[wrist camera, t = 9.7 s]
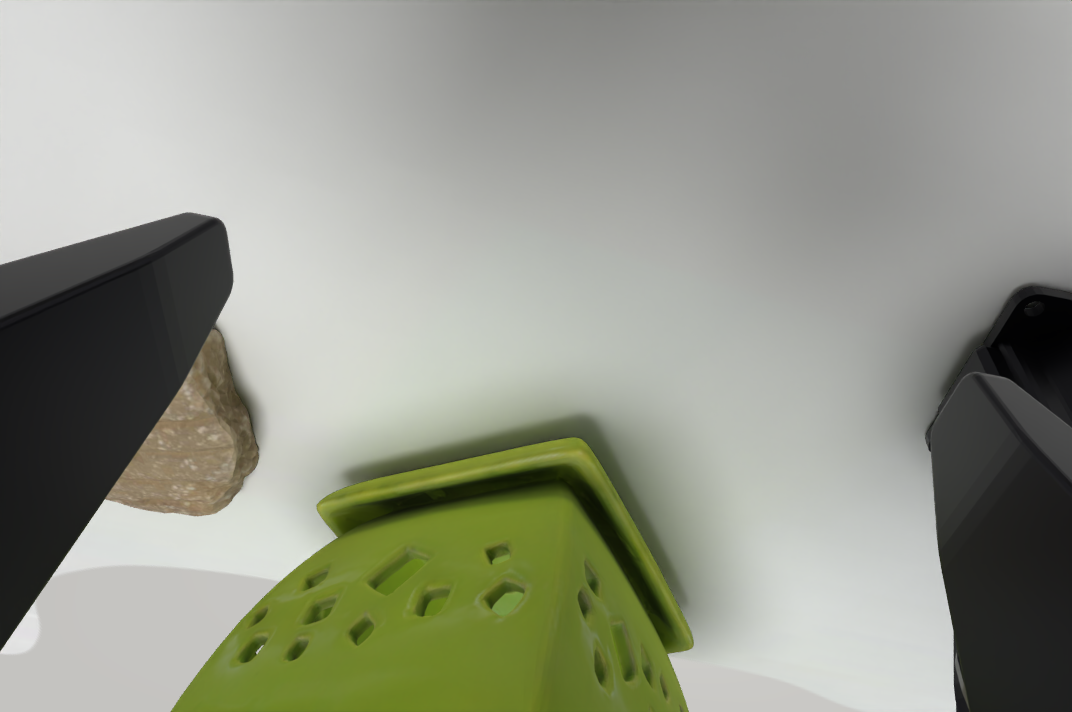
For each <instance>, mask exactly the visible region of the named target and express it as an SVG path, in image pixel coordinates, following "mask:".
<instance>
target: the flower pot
mask: <svg viewBox="0 0 1072 712" xmlns="http://www.w3.org/2000/svg"><path fill="white" fill-rule="evenodd" d="M317 511H318V513H319V514H320V516H321V517H322V519H323V520H324V521H325V523H326V524H327V525H328V526H329V528H330V529H331V530H332V531H333V532H334V533H335V535H336V536H337V537H338V538H337V539H335V540H334V541H332V542H331V543H329V544H328V545H326V546H325V547H323V548H322V549H321V550H319V551H318V552H316V553H315V554H314V555H312V556H311V557H310V558H308V559H307V560H306V561H304V562H303V563H302V564H301V565H299V566H298V567H297V568H296V569H294V570H293V571H292V572H291V573H290V574H288V575H287V576H286V577H285V578H284V579H283V580H282V581H280V582H279V583H278V584H277V585H276V586H275V587H274V588H273V589H272V590H271V591H270V592H269V593H267V594H266V595H265V596H264V598H262V599H261V600H260V601H259V602H258V603H257V604H256V605H255V606H254V608H252V610H251V611H250V612H249V613H248V614H247V615H246V616H245V617H244V618H243V619H242V620H241V621H240V622H239V623H238V624H237V625H236V627H235V628H234V629H233V630H232V631H231V633H230V634H229V635H228V636H227V637H226V639H225V640H224V641H223V642H222V643H221V644H220V646H219V647H218V648H217V649H216V651H215V652H214V653H213V655H212V656H211V657H210V658H209V660H208V661H207V662H206V663H205V665H204V666H203V667H202V668H201V670H200V671H199V673H198V674H197V675H196V677H195V678H194V679H193V681H192V682H191V683H190V685H189V686H188V687H187V689H186V690H185V692H184V693H183V694H182V696H181V697H180V699H179V700H178V702H177V703H176V705H175V706H174V708H173V709H172V711H171V712H689V711H688V708H687V705H686V701H685V699H684V696H683V693H682V690H681V687H680V684H679V682H678V679H677V677H676V674H675V672H674V669H673V667H672V665H671V662H670V660H669V657H668V655H667V654H669V653H675V652H681V651H686V650H689V649H691V648H692V647H693V645H694V641H693V637H692V633H691V631H690V628H689V626H688V624H687V622H686V620H685V618H684V616H683V614H682V612H681V610H680V608H679V606H678V604H677V602H676V600H675V598H674V597H673V595H672V593H671V591H670V589H669V587H668V585H667V583H666V581H665V579H664V577H663V575H662V573H661V571H660V569H659V567H658V565H657V563H656V561H655V560H654V558H653V556H652V554H651V552H650V551H649V549H648V547H647V545H646V543H645V541H644V540H643V538H642V536H641V534H640V532H639V531H638V529H637V527H636V525H635V523H634V522H633V520H632V518H631V516H630V515H629V513H628V511H627V509H626V508H625V506H624V504H623V502H622V500H621V499H620V497H619V495H618V493H617V492H616V490H615V488H614V486H613V485H612V483H611V481H610V479H609V478H608V476H607V474H606V473H605V471H604V469H603V467H602V466H601V464H600V462H599V461H598V459H597V458H596V456H595V455H594V453H593V451H592V450H591V448H590V447H589V446H588V445H587V443H586V442H584V441H583V440H582V439H580V438H575V437H571V438H565V439H559V440H553V441H548V442H543V443H538V444H533V445H528V446H524V447H519V448H514V449H510V450H505V451H501V452H496V453H491V454H487V455H482V456H478V457H473V458H469V459H464V460H460V461H455V462H451V463H446V464H441V465H437V466H432V467H427V468H422V469H418V470H413V471H408V472H404V473H399V474H395V475H390V476H386V477H381V478H377V479H372V480H369V481H365V482H361V483H358V484H355V485H351V486H348V487H345V488H343V489H340V490H338V491H336V492H334V493H332V494H330V495H328V496H326V497H325V498H324V499H322V500H321V501H320V502H319V503H318V504H317ZM262 645H264V646H263V647H262V649H261V650H260V651H259V653H258V654H256V651H257V650H258V649H259V648H260V647H261V646H262Z"/></svg>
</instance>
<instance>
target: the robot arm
mask: <svg viewBox="0 0 1072 712" xmlns="http://www.w3.org/2000/svg"><path fill="white" fill-rule="evenodd" d="M232 286H233V269H232V263H231V256H230V250H229V243H228V236H227V231H226V227H225V225H224V223H223V222H222V221H221V220H220V219H218V218H215V217H211V216H206V215H201V214H196V213H182V214H179V215H175V216H172V217H168V218H165V219H161V220H158V221H154V222H151V223H147V224H143V225H140V226H136V227H133V228H129V229H126V230H122V231H119V232H115V233H112V234H108V235H104V236H101V237H97V238H94V239H90V240H87V241H83V242H80V243H76V244H73V245H69V246H65V247H62V248H58V249H55V250H51V251H48V252H44V253H41V254H37V255H34V256H30V257H26V258H23V259H19V260H16V261H12V262H9V263H5V264H2V265H0V651H1V650H2V648H3V647H4V645H5V644H6V642H7V641H8V639H9V638H10V636H11V635H12V634H13V632H14V631H15V629H16V628H17V626H18V625H19V623H20V622H21V620H22V619H23V618H24V616H25V615H26V613H27V612H28V610H29V609H30V607H31V606H32V604H33V603H34V602H35V600H36V599H37V597H38V596H39V594H40V593H41V591H42V590H43V588H44V587H45V585H46V584H47V583H48V581H49V580H50V578H51V577H52V575H53V574H54V572H55V571H56V569H57V568H58V567H59V565H60V564H61V562H62V561H63V559H64V558H65V556H66V555H67V553H68V552H69V551H70V549H71V548H72V546H73V545H74V543H75V542H76V540H77V539H78V537H79V536H80V535H81V533H82V532H83V530H84V529H85V527H86V526H87V524H88V523H89V521H90V520H91V518H92V517H93V516H94V514H95V513H96V511H97V510H98V508H99V507H100V505H101V504H102V502H103V501H104V500H105V498H106V497H107V495H108V494H109V492H110V491H111V489H112V488H113V486H114V485H115V484H116V482H117V481H118V479H119V478H120V476H121V475H122V473H123V472H124V470H125V469H126V468H127V466H128V465H129V463H130V462H131V460H132V459H133V457H134V456H135V454H136V453H137V451H138V450H139V449H140V447H141V446H142V444H143V443H144V441H145V440H146V438H147V437H148V435H149V434H150V433H151V431H152V430H153V428H154V427H155V425H156V424H157V422H158V421H159V419H160V418H161V417H162V415H163V414H164V412H165V411H166V409H167V408H168V406H169V405H170V403H171V402H172V400H173V399H174V397H175V396H176V394H177V393H178V391H179V390H180V388H181V386H182V385H183V383H184V381H185V379H186V378H187V376H188V374H189V372H190V370H191V368H192V367H193V365H194V363H195V361H196V359H197V357H198V355H199V353H200V351H201V349H202V347H203V346H204V344H205V342H206V340H207V338H208V336H209V334H210V332H211V330H212V328H213V326H214V324H215V323H216V321H217V319H218V317H219V315H220V313H221V311H222V309H223V307H224V305H225V303H226V301H227V300H228V298H229V296H230V293H231V290H232ZM1032 302H1039V304H1038V305H1037V306H1036V307H1033V308H1031V309H1025V307H1026V306H1027V305H1028V304H1029V303H1032ZM938 411H939V415H938V416H937V418H936V420H935V421H934V423H933V424H932V426H931V428H930V429H929V431H928V432H927V434H926V437H925V439H926V443H927V446H928V449H929V451H930V452H931V458H932V472H933V487H934V501H935V516H936V530H937V541H938V550H939V557H940V563H941V569H942V574H943V579H944V584H945V589H946V594H947V600H948V605H949V610H950V615H951V620H952V625H953V630H954V691H955V700H956V712H1072V293H1068V292H1063V291H1058V290H1053V289H1048V288H1043V287H1028V288H1024V289H1022V290H1020V291H1019V292H1017V293H1016V294H1015V295H1014V296H1013V297H1012V299H1011V300H1010V302H1009V303H1008V305H1007V307H1006V308H1005V310H1004V311H1003V313H1002V315H1001V316H1000V318H999V319H998V321H997V323H996V324H995V326H994V327H993V329H992V330H991V332H990V334H989V335H988V337H987V338H986V340H985V342H984V343H983V345H982V346H980V347H979V348H977V349H976V350H974V351H973V353H972V354H971V356H970V358H969V359H968V361H967V362H966V364H965V366H964V367H963V369H962V370H961V372H960V374H959V375H958V377H957V378H956V380H955V382H954V383H953V385H952V386H951V388H950V390H949V391H948V393H947V395H946V396H945V398H944V399H943V401H942V403H941V404H940V406H939V408H938Z"/></svg>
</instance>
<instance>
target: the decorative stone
mask: <svg viewBox="0 0 1072 712" xmlns="http://www.w3.org/2000/svg"><path fill="white" fill-rule="evenodd" d="M257 451H258V447H257V445H256V443H255V436H254V434H253V432H252V427H251V423H250V419H249V414H248V411H247V409H246V407H245V406H244V405H243V403H242V402H241V399H240V397H239V396H238V395H237V394H236V392H235V388H234V384H233V379H232V377H231V372H230V369H229V366H228V361H227V352H226V349H225V341H224V339H223V337H222V334H221V333H220V332H219V331H217V330H215V329H212V330H211V332H210V334H209V336H208V338H207V340H206V342H205V344H204V346H203V347H202V349H201V351H200V353H199V355H198V357H197V359H196V361H195V363H194V365H193V367H192V368H191V370H190V372H189V374H188V376H187V378H186V379H185V381H184V383H183V385H182V386H181V388H180V390H179V391H178V393H177V394H176V396H175V397H174V399H173V400H172V402H171V403H170V405H169V406H168V408H167V409H166V411H165V412H164V414H163V415H162V417H161V418H160V419H159V421H158V422H157V424H156V425H155V427H154V428H153V430H152V431H151V433H150V434H149V435H148V437H147V438H146V440H145V441H144V443H143V444H142V446H141V447H140V449H139V450H138V451H137V453H136V454H135V456H134V457H133V459H132V460H131V462H130V463H129V465H128V466H127V468H126V469H125V470H124V472H123V473H122V475H121V476H120V478H119V479H118V481H117V482H116V484H115V485H114V486H113V488H112V489H111V491H110V492H109V494H108V495H107V497H106V498H105V499H106V500H110V501H115V502H118V503H121V504H124V505H127V506H130V507H134V508H139V509H143V510H148V511H155V512H162V513H179V514H184V515H191V516H203V515H210V514H215V513H217V512H218V511H220V510H221V509H223V508H225V507H226V506H228V505H229V503H230V502H231V501H232V499H233V497H234V496H235V495H236V494H237V493H238V492H239V491H240V490H241V487H242V486H243V480H244V477H245V476H247V475H249V474H250V473H251V472H252V471H253V470H254V469H255V467H256V465H257V463H258V459H259V457H258V456H259V455H258V452H257Z"/></svg>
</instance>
